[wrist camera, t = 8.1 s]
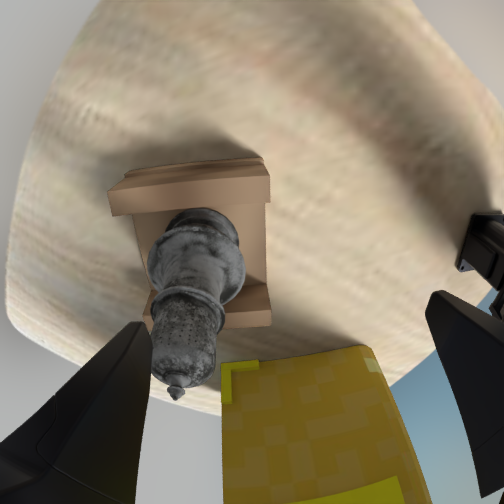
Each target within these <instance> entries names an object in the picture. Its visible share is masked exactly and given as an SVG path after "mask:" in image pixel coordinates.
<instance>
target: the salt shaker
mask: <svg viewBox="0 0 504 504" xmlns="http://www.w3.org/2000/svg"><path fill="white" fill-rule="evenodd" d="M147 270H148V276H149V278H150V280H151V283H152V285H153V286H154V288H155V289H156V290H157V291H158V294H157V295H156V296H155V297H154V299H153V301H152V303H151V308H150V313H151V318H152V320H153V322H154V325H153V328H152V332H151V335H150V337H151V339H152V343H153V353H152V365H151V373H152V374H153V376H154V377H156V378H157V379H158V380H160V381H161V382H163V383H165V384H167V385H170V387H168V388H167V392H168V393H170V396H171V397H172V398H173V400H175V401H176V400H178V399H179V398H180V397H181V396H182V395H184V394H185V390H184V389H182V388H192V387H196V386H199V385H202V384H203V383H205V382H206V381H207V380H208V379H209V378H210V377H211V376H212V374H213V372H214V369H215V359H216V335H217V334H218V333H219V332H220V331H221V330H222V328H223V326H224V324H225V312H224V308H223V306H222V305H224V304H226V303H227V302H229V301H230V300H232V299H233V298H234V297H235V296H236V295H237V293H238V292H239V291H240V290H241V288H242V285H243V283H244V281H245V273H246V267H245V262H244V257H243V255H242V254H241V252H240V250H239V237H238V233H237V231H236V229H235V227H234V225H233V223H232V222H231V221H230V220H229V219H228V218H227V217H226V216H224V215H222V214H221V213H219V212H218V211H215V210H211V209H208V208H192V209H188V210H185V211H183V212H181V213H179V214H177V215H176V216H175V217H174V218H173V219H172V220H171V221H170V223H169V224H168V226H167V228H166V230H165V233H164V234H163V235H161V236H160V237H159V238H158V239H157V240H156V241H155V242H154V244H153V246H152V248H151V250H150V251H149V254H148V260H147Z"/></svg>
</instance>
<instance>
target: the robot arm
mask: <svg viewBox="0 0 504 504" xmlns="http://www.w3.org/2000/svg"><path fill="white" fill-rule="evenodd" d="M457 270H458V271H459V272H465V271H470V270H476V271H477V272H478V273H479V274H480V275H481V276H482V277H483V278H484V279H485V280H486V281H487V282H488V283H489V284H490V285H491V286H492V287H493V288H494V289H495V290H496V291H498V292H499V293H498V294H497V296H496V298H495V300H494V301H493V303H491V305H490V307H489V310H490V311H491V313H492V316H491V315H489V314H487V313H485V312H484V311H482V310H480V309H478V308H477V307H475V306H473V305H471V304H469V303H467V302H465V301H464V300H462V299H460V298H458V297H456V296H454V295H452V294H450V293H448V292H446V291H444V290H439V291H434V292H433V293H432V294H431V297H430V299H429V302H428V305H427V308H426V311H425V317H426V320H427V323H428V326H429V329H430V332H431V334H432V337H433V340H434V343H435V346H436V350H437V352H438V355H439V358H440V360H441V363H442V365H443V368H444V370H445V373H446V375H447V378H448V380H449V383H450V385H451V388H452V391H453V393H454V396H455V399H456V402H457V405H458V408H459V411H460V414H461V416H462V420H463V423H464V427H465V430H466V433H467V437H468V440H469V444H470V448H471V452H472V456H473V461H474V465H475V469H476V474H477V479H478V485H479V490H480V496H481V498H484V497H486V496H488V495H490V494H492V493H494V492H496V491H498V490H500V489H501V488H503V487H504V214H491V213H474V214H473V215H472V218H471V222H470V226H469V229H468V233H467V237H466V240H465V244H464V247H463V251H462V254H461V257H460V260H459V263H458V266H457ZM152 353H153V343H152V339H151V337H150V335H149V332H148V330H147V327H146V325H145V323H144V322H141V321H136V322H130V323H128V324H127V325H126V326H125V327H124V328H123V329H122V330H121V331H120V332H119V333H118V334H117V335H116V336H114V337H113V338H112V339H111V340H110V341H109V342H108V343H107V344H106V345H105V346H104V347H103V348H102V349H101V350H100V351H99V352H97V353H96V354H95V355H94V356H93V357H92V358H91V359H90V360H89V361H88V362H87V363H86V364H85V365H84V366H83V367H82V368H81V369H80V370H79V371H78V372H77V373H76V374H75V375H74V376H73V377H71V378H70V380H68V381H67V383H65V384H64V386H62V387H61V388H60V389H59V390H58V391H57V392H56V394H55V395H53V396H52V397H51V398H50V399H49V400H48V401H47V402H46V403H45V404H44V405H43V406H42V407H41V408H40V409H39V410H38V411H37V412H36V413H35V414H33V415H32V416H31V417H30V418H29V419H28V420H27V421H26V422H24V423H23V424H22V425H21V426H20V427H18V428H17V429H16V430H15V431H14V432H13V433H11V434H10V435H9V436H8V437H7V438H5V439H4V440H3V441H2V442H0V504H135V496H136V485H137V476H138V467H139V459H140V451H141V443H142V436H143V429H144V423H145V416H146V410H147V404H148V399H149V392H150V379H151V365H152ZM499 504H504V492H503V494H502V497H501V500H500V502H499Z"/></svg>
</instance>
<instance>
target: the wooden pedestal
mask: <svg viewBox="0 0 504 504" xmlns="http://www.w3.org/2000/svg"><path fill="white" fill-rule="evenodd" d="M124 175H125V178H124V179H123V180H122V181H121V182H119V183H118V184H117V185H115V186H114V187H113V188H112V189H110V190H109V191H108V192H107V194H108V198H109V203H110V208H111V212H112V216H121V215H129V214H132V217H133V221H134V226H135V230H136V234H137V239H138V243H139V247H140V251H141V255H142V259H143V263H144V266H145V270H146V274H147V277H148V281H149V284H150V288H151V293H150V296H149V298H148V301H147V304H146V307H145V310H144V313H143V319H144V322H145V324H146V327H147V330H148V331H152V328H153V325H154V322H153V320H152V318H151V313H150V308H151V303H152V301H153V299H154V297H155V296H156V295H157V294H158V291H157V290H156V289H155V288H154V286H153V285H152V283H151V280H150V278H149V276H148V270H147V260H148V254H149V251H150V250H151V248H152V246H153V244H154V242H155V241H156V240H157V239H158V238H159V237H160V236H161V235H163V234H164V233H165V230H166V228H167V226H168V224H169V223H170V221H171V220H172V219H173V218H174V217H175V216H176V215H177V214H179V213H181V212H183V211H185V210H188V209H192V208H208V209H211V210H215V211H218V212H219V213H221V214H222V215H224V216H226V217H227V218H228V219H229V220H230V221H231V222H232V223H233V225H234V227H235V229H236V231H237V233H238V237H239V250H240V252H241V254H242V255H243V257H244V262H245V267H246V273H245V281H244V283H243V285H242V288H241V290H240V291H239V292H238V293H237V295H236V296H235V297H234V298H233V299H232V300H230V301H229V302H227V303H226V304H224V305H222V306H223V308H224V312H225V324H224V326H223V328H222V329H232V328H247V327H261V326H271V306H270V300H269V295H268V289H267V281H266V228H265V203H270V175H269V173H268V171H267V169H266V167H265V166H264V160H263V158H262V157H261V158H242V159H227V160H214V161H203V162H192V163H183V164H175V165H166V166H159V167H151V168H145V169H138V170H132V171H129V172H127V173H126V174H124Z"/></svg>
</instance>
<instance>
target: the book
mask: <svg viewBox="0 0 504 504" xmlns="http://www.w3.org/2000/svg"><path fill="white" fill-rule="evenodd" d="M221 403H222V467H223V502H224V504H432V501H431V498H430V494H429V491H428V488H427V485H426V482H425V479H424V476H423V473H422V470H421V467H420V465H419V462H418V459H417V456H416V453H415V451H414V448H413V445H412V443H411V440H410V437H409V435H408V432H407V430H406V427H405V425H404V422H403V420H402V417H401V415H400V412H399V410H398V407H397V405H396V403H395V400H394V398H393V396H392V393H391V391H390V389H389V386H388V384H387V382H386V379H385V377H384V375H383V373H382V371H381V368H380V366H379V364H378V362H377V360H376V357H375V355H374V353H373V351H372V349H371V348H370V347H368V346H366V345H356V346H351V347H347V348H342V349H337V350H332V351H327V352H322V353H316V354H311V355H305V356H299V357H292V358H286V359H279V360H272V361H264V362H259V361H258V359H257V360H249V361H239V362H229V363H221Z"/></svg>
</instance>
